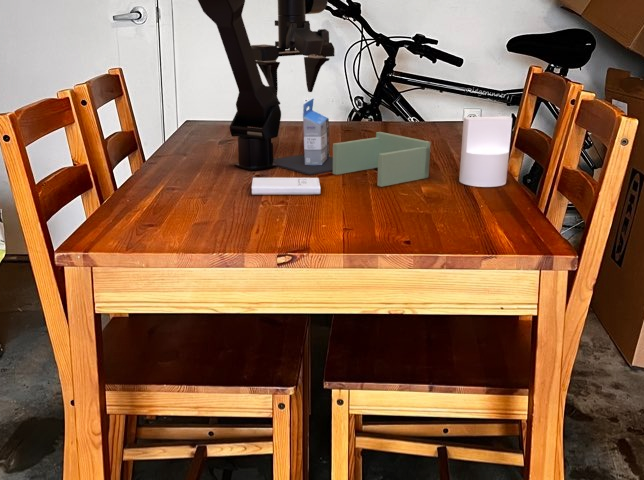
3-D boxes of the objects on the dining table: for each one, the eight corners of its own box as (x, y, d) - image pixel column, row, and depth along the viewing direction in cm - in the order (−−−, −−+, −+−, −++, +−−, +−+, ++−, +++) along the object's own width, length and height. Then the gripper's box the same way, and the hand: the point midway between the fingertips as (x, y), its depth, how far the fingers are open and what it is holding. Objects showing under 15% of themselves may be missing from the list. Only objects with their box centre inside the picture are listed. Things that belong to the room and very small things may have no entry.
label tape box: (321, 166, 169) (322, 104, 163) (302, 165, 169) (302, 103, 164) (329, 157, 176) (330, 98, 171) (311, 156, 177) (311, 98, 172)
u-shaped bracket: (381, 186, 153) (382, 149, 151) (332, 173, 164) (332, 138, 161) (428, 177, 161) (430, 141, 158) (379, 165, 171) (380, 131, 168)
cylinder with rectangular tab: (496, 175, 162) (502, 113, 157) (513, 186, 154) (519, 121, 149) (453, 177, 161) (457, 114, 156) (467, 187, 153) (472, 122, 148)
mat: (309, 175, 162) (309, 173, 162) (262, 162, 174) (262, 160, 174) (361, 166, 170) (361, 164, 170) (314, 154, 182) (314, 152, 182)
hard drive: (253, 185, 155) (318, 184, 155) (251, 196, 147) (320, 195, 148) (252, 176, 154) (318, 176, 154) (251, 187, 146) (320, 186, 147)
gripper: (276, 18, 158) (277, 101, 165) (351, 15, 168) (350, 94, 175) (245, 16, 166) (248, 95, 173) (318, 13, 176) (319, 88, 183)
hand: (292, 93), depth 176 cm, fingers open, 9 cm apart
